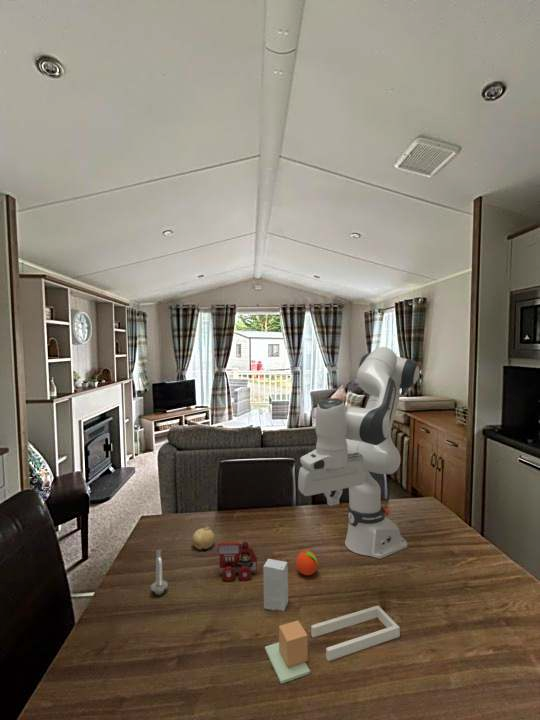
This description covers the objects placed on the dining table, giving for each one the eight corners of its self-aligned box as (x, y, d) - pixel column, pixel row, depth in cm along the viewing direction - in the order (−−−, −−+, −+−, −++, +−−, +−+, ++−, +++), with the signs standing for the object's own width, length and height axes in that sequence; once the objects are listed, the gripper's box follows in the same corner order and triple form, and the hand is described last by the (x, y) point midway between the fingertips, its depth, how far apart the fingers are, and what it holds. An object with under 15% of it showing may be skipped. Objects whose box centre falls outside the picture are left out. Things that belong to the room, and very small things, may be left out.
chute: (378, 616, 100) (378, 605, 100) (399, 639, 92) (399, 627, 92) (311, 637, 93) (311, 625, 93) (328, 664, 85) (328, 651, 85)
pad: (302, 637, 93) (302, 634, 93) (322, 669, 84) (322, 666, 84) (264, 649, 89) (264, 646, 89) (280, 683, 80) (280, 681, 80)
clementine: (324, 574, 119) (324, 552, 119) (311, 584, 114) (311, 561, 114) (305, 564, 124) (304, 543, 124) (291, 573, 119) (291, 551, 119)
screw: (148, 592, 111) (162, 585, 114) (155, 600, 107) (171, 592, 111) (147, 549, 110) (162, 543, 114) (155, 555, 107) (170, 549, 110)
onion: (207, 554, 131) (207, 534, 131) (188, 550, 134) (187, 530, 134) (218, 542, 139) (218, 524, 139) (199, 539, 141) (199, 521, 141)
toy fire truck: (257, 580, 116) (257, 547, 116) (217, 582, 115) (216, 549, 115) (257, 567, 123) (256, 536, 123) (219, 569, 122) (218, 537, 122)
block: (298, 644, 90) (298, 620, 90) (307, 660, 85) (307, 635, 85) (279, 650, 88) (278, 625, 88) (287, 667, 83) (287, 641, 83)
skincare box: (288, 603, 105) (288, 561, 105) (284, 613, 101) (283, 570, 101) (268, 598, 107) (267, 557, 107) (263, 608, 103) (262, 566, 103)
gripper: (356, 448, 112) (357, 493, 113) (295, 458, 105) (296, 506, 106) (369, 454, 106) (370, 501, 107) (304, 465, 99) (306, 516, 100)
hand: (333, 504), depth 107 cm, fingers closed
